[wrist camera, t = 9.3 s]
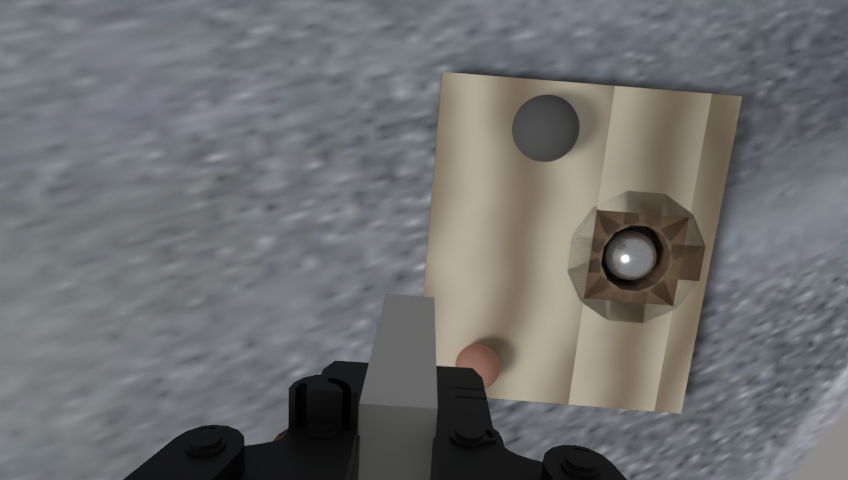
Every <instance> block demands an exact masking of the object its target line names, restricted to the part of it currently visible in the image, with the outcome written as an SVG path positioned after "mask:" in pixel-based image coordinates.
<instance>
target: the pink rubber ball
mask: <svg viewBox="0 0 848 480" xmlns="http://www.w3.org/2000/svg"><path fill="white" fill-rule="evenodd" d="M455 367H465V368H473V369H474V370H475V371H476V372H477V373H478V374H479V375H480V376H481V377H482V378H483V382H484V387H485V388H487V387H489V386H491V385H492V384H493V383H494V382H495V381H496V379H497V377H498V375H499V371H500V363H499V359H498V357H497V355H496V354H495V352H494V351H493V350H492V349H490V348H489V347H487V346H485V345H482V344H473V345H469V346H467V347H465V348H464V349H463V350H462V351H461V352H460V353H459V355H458V357H457V359H456V363H455Z"/></svg>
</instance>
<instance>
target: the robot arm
mask: <svg viewBox="0 0 848 480" xmlns="http://www.w3.org/2000/svg"><path fill="white" fill-rule="evenodd" d="M124 480H627V479H626V478H625V477H624V476H623V475H622V474H621V473H620V471H619V470H618V469H617V468H616V467H615V466H614V465H613V464H612V463H611V462H610V461H609V460H608V459H606V458H605V457H604V456H603V455H601V454H599V453H597V452H595V451H593V450H591V449H588V448H585V447H581V446H576V445H561V446H557V447H553V448H551V449H550V450H548V451H547V452H546V453H545V455H544V459H543V462H540V461H536V460H532V459H529V458H526V457H523V456H520V455H517V454H515V453H513V452H511V451H509V450H508V449H506V448H505V447H504V443H503V439H502V438H501V436H500V434H499V432H497V431H496V430H495V429H494V428H493V426H492V421H491V416H490V412H489V407H488V402H487V397H486V392H485V387H484V382H483V378H482V377H481V376H480V375H479V374H478V373H477V372H476V371H475V370H474V369H473V368H465V367H449V366H436V334H435V300H434V297H423V296H408V295H392V294H386V296H385V300H384V304H383V308H382V312H381V316H380V320H379V324H378V328H377V332H376V336H375V340H374V345H373V349H372V353H371V357H370V361H369V363H362V362H346V361H334V362H333V363H332V364H330V365H329V366H327V367H326V368H325V369H323V371H322V374H321V375H314V376H309V377H304V378H302V379H300V380H298V381H296V382H294V383H293V385H292V386H291V387H290V388H289V427H288V429H287V432H286V434H285V436H284V438H281V439H279V440H276V441H273V442H268V443H263V444H256V445H248V446H244V436H243V435H242V434H241V433H240V432H239V431H238V430H237V429H234V428H231V427H229V426H220V425H209V426H201V427H198V428H195V429H192V430H189V431H186V432H185V433H183V434H181V435H179V436H178V437H176V438H175V439H173V440H172V441H171V442H170V443H168V444H167V445H166V446H165V447H163V448H162V449H161V450H160V451H158V452H157V453H156V454H155V455H153V456H152V457H151V458H150V459H148V460H147V461H146V462H145V463H144V464H142V465H141V466H140V467H139V468H137V469H136V470H135V471H134V472H132V473H131V474H130V475H129V476H127V477H126V478H125V479H124Z"/></svg>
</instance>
